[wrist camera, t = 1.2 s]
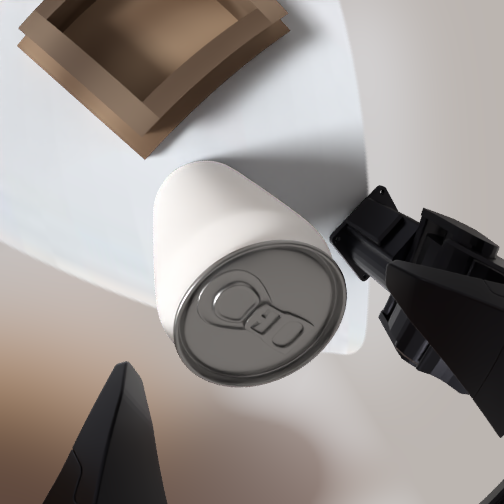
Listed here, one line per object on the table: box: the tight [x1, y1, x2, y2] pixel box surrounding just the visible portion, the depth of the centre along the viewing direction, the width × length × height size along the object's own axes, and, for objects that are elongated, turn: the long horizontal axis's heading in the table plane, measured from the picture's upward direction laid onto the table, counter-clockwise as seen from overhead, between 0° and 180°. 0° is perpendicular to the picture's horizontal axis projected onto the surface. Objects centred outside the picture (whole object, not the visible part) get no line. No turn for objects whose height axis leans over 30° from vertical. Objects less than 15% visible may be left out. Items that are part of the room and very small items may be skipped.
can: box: [153, 161, 347, 387], centre depth 14 cm, size 6×6×12 cm
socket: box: [17, 0, 290, 159], centre depth 11 cm, size 12×12×4 cm
